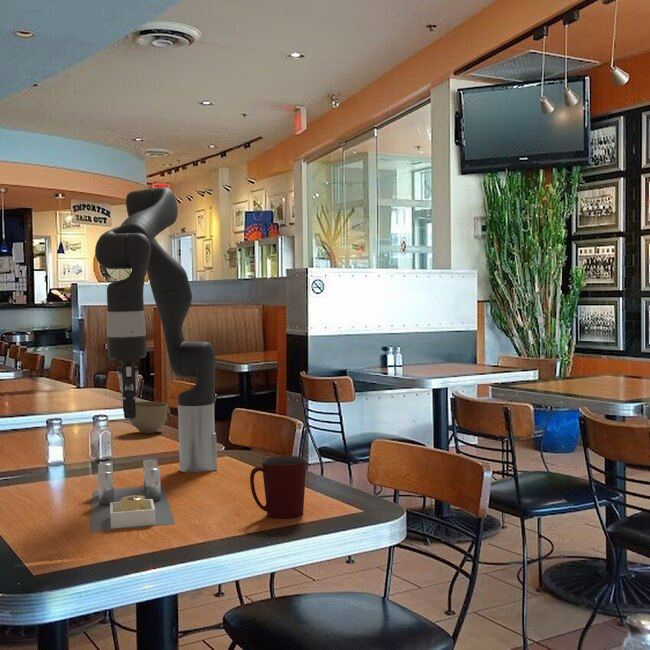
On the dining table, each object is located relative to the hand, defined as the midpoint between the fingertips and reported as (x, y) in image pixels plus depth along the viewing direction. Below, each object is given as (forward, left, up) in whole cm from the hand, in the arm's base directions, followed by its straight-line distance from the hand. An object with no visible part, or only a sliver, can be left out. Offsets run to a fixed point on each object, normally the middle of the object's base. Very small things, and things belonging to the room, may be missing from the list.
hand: (129, 415), depth 161 cm
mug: (-29, +4, -22) cm, 37 cm away
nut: (0, 0, -21) cm, 21 cm away
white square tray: (0, 0, -21) cm, 21 cm away
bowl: (-9, -108, -22) cm, 111 cm away
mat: (0, -12, -22) cm, 25 cm away
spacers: (0, -20, -21) cm, 29 cm away
